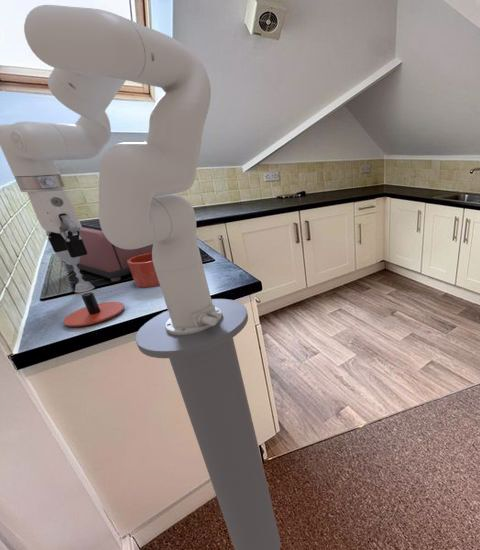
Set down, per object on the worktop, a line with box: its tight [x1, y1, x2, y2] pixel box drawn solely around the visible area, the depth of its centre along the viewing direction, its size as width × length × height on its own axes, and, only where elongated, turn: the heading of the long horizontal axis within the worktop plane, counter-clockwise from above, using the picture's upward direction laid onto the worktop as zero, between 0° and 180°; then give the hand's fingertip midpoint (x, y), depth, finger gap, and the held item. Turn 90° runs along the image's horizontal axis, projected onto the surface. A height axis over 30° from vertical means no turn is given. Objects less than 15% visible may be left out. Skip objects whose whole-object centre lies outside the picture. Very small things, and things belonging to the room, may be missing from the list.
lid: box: [63, 291, 125, 327], centre depth 80 cm, size 13×13×7 cm
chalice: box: [46, 234, 96, 294], centre depth 95 cm, size 7×7×18 cm
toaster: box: [66, 218, 153, 283], centre depth 120 cm, size 31×36×18 cm
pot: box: [127, 253, 160, 288], centre depth 102 cm, size 12×12×8 cm
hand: (71, 253), depth 76 cm, fingers open, 9 cm apart
